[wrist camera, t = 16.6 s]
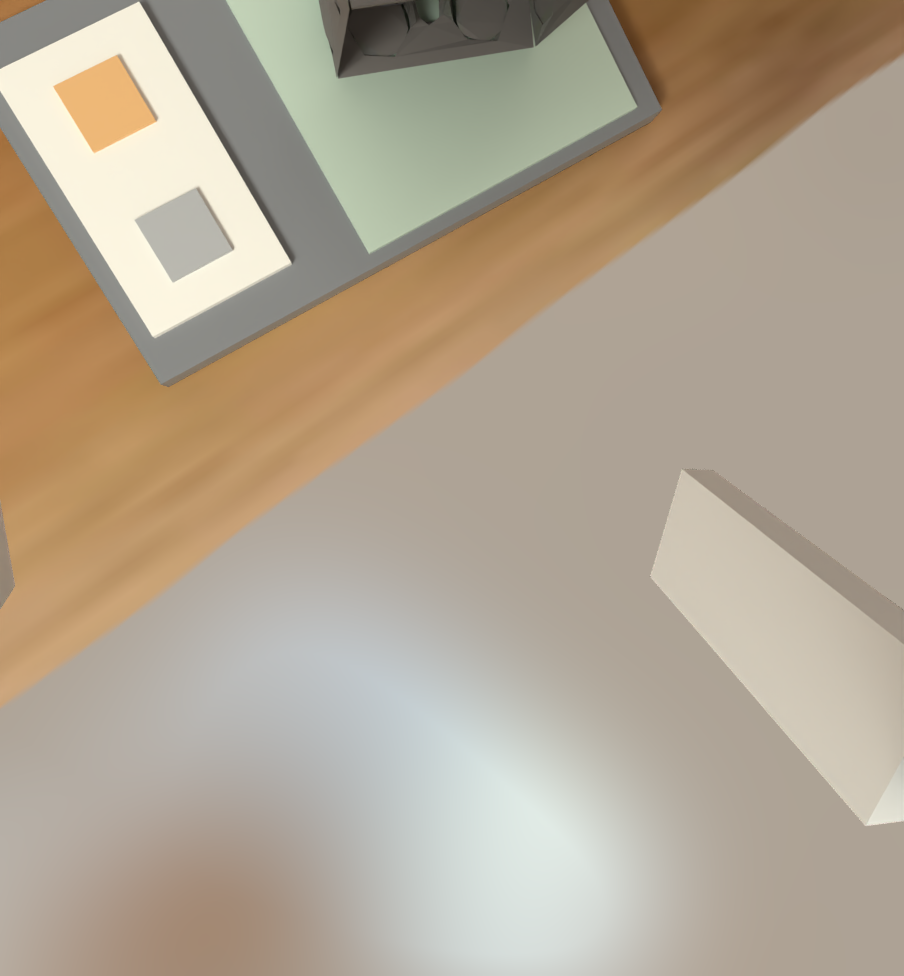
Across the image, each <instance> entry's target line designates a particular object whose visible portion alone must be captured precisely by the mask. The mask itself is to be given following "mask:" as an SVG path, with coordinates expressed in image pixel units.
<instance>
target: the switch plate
mask: <svg viewBox="0 0 904 976" xmlns="http://www.w3.org/2000/svg"><path fill="white" fill-rule="evenodd" d="M506 2H507V0H506ZM415 3H416V7H417V11H418V14H419V18H420V19H422V20H423V21H424V22H434V21H435V20H436V19H438V18H439V0H415ZM401 6H402V10H403V13H404V16H405V19H406V22H407V25H408V31H409V29H410V24H409V17H408V14H407V12H406V10H405V8H404V5H403V3H402V4H401ZM508 9H509V4H508V2H507V10H508ZM530 12H531V11H530ZM452 15H453V21H454V23H455V24H456V25H457V27H458V24H457V20H456V2H455V0H452ZM552 15H553V14H552ZM531 24H532V18H531ZM458 28H459V27H458ZM408 31H407V33H408ZM406 35H407V34H406ZM532 35H533V46H534V47H533V48H527V49H520V50H514V51H508V52H502V53H495V54H489V55H483V56H477V57H470V58H464V59H458V60H452V61H445V62H439V63H433V64H427V65H421V66H414V67H408V68H402V69H396V70H389V71H383V72H377V73H371V74H364V75H358V76H352V77H346V78H339V79H338V75H337V77H336V72H335V67H334V62H333V57H332V53H331V49H330V45H329V41H328V39H327V36H326V34H325V30H324V26H323V21H322V16H321V10H320V5H319V0H46V1H44V2H42V3H40V4H38V5H36V6H33V7H31V8H29V9H27V10H25V11H23V12H21V13H19V14H17V15H15V16H13V17H10V18H8V19H6V20H4V21H2V22H0V128H1V130H2V131H3V133H4V134H5V136H6V138H7V139H8V141H9V142H10V144H11V146H12V147H13V149H14V150H15V152H16V154H17V155H18V157H19V158H20V160H21V162H22V163H23V165H24V166H25V168H26V170H27V171H28V173H29V174H30V176H31V178H32V179H33V181H34V182H35V184H36V186H37V187H38V189H39V190H40V192H41V194H42V195H43V197H44V198H45V200H46V202H47V203H48V205H49V206H50V208H51V210H52V211H53V213H54V214H55V216H56V218H57V219H58V221H59V222H60V224H61V226H62V227H63V229H64V230H65V232H66V234H67V235H68V237H69V238H70V240H71V242H72V243H73V245H74V246H75V248H76V250H77V251H78V253H79V254H80V256H81V258H82V259H83V261H84V262H85V264H86V266H87V267H88V269H89V270H90V272H91V274H92V275H93V277H94V278H95V280H96V282H97V283H98V285H99V286H100V288H101V290H102V291H103V293H104V294H105V296H106V298H107V299H108V301H109V302H110V304H111V306H112V307H113V309H114V310H115V312H116V314H117V315H118V317H119V318H120V320H121V322H122V323H123V325H124V326H125V328H126V330H127V331H128V333H129V334H130V336H131V338H132V339H133V341H134V342H135V344H136V346H137V347H138V349H139V350H140V352H141V354H142V355H143V357H144V358H145V360H146V362H147V363H148V365H149V366H150V368H151V370H152V371H153V373H154V374H155V376H156V378H157V379H158V381H159V382H160V384H161V385H164V386H167V387H169V386H171V385H173V384H175V383H176V382H178V381H180V380H182V379H184V378H186V377H187V376H189V375H191V374H193V373H195V372H196V371H198V370H200V369H202V368H204V367H206V366H207V365H209V364H211V363H213V362H215V361H217V360H218V359H220V358H222V357H224V356H226V355H227V354H229V353H231V352H233V351H235V350H237V349H238V348H240V347H242V346H244V345H246V344H247V343H249V342H251V341H253V340H255V339H257V338H258V337H260V336H262V335H264V334H266V333H267V332H269V331H271V330H273V329H275V328H277V327H278V326H280V325H282V324H284V323H286V322H288V321H289V320H291V319H293V318H295V317H297V316H298V315H300V314H302V313H304V312H306V311H308V310H309V309H311V308H313V307H315V306H317V305H318V304H320V303H322V302H324V301H326V300H328V299H329V298H331V297H333V296H335V295H337V294H339V293H340V292H342V291H344V290H346V289H348V288H349V287H351V286H353V285H355V284H357V283H359V282H360V281H362V280H364V279H366V278H368V277H369V276H371V275H373V274H375V273H377V272H379V271H380V270H382V269H384V268H386V267H388V266H389V265H391V264H393V263H395V262H397V261H399V260H400V259H402V258H404V257H406V256H408V255H410V254H411V253H413V252H415V251H417V250H419V249H420V248H422V247H424V246H426V245H428V244H430V243H431V242H433V241H435V240H437V239H439V238H440V237H442V236H444V235H446V234H448V233H450V232H451V231H453V230H455V229H457V228H459V227H461V226H462V225H464V224H466V223H468V222H470V221H471V220H473V219H475V218H477V217H479V216H481V215H482V214H484V213H486V212H488V211H490V210H491V209H493V208H495V207H497V206H499V205H501V204H502V203H504V202H506V201H508V200H510V199H512V198H513V197H515V196H517V195H519V194H521V193H522V192H524V191H526V190H528V189H530V188H532V187H533V186H535V185H537V184H539V183H541V182H542V181H544V180H546V179H548V178H550V177H552V176H553V175H555V174H557V173H559V172H561V171H562V170H564V169H566V168H568V167H570V166H572V165H573V164H575V163H577V162H579V161H581V160H583V159H584V158H586V157H588V156H590V155H592V154H593V153H595V152H597V151H599V150H601V149H603V148H604V147H606V146H608V145H610V144H612V143H613V142H615V141H617V140H619V139H621V138H623V137H624V136H626V135H628V134H630V133H632V132H634V131H635V130H637V129H639V128H641V127H643V126H644V125H646V124H648V123H650V122H651V121H652V120H653V119H654V118H655V117H656V116H657V115H658V114H659V113H660V111H661V110H662V108H661V106H660V104H659V102H658V100H657V98H656V96H655V94H654V92H653V90H652V88H651V86H650V84H649V82H648V80H647V78H646V76H645V74H644V72H643V70H642V68H641V66H640V64H639V61H638V59H637V57H636V55H635V53H634V51H633V49H632V47H631V45H630V43H629V41H628V39H627V37H626V35H625V33H624V31H623V29H622V27H621V25H620V23H619V21H618V19H617V17H616V15H615V12H614V10H613V8H612V6H611V4H610V2H609V0H588V1H587V2H586V3H585V4H584V5H583V6H582V7H580V8H579V9H578V10H577V11H576V12H575V13H574V14H572V15H571V16H570V17H569V18H568V19H567V20H566V21H564V22H563V23H562V24H561V25H560V26H559V27H558V28H556V29H555V30H554V31H553V32H552V33H551V34H550V35H548V36H547V37H546V38H545V39H544V40H543V41H542V42H540V43H539V44H538V45H537V46H535V39H534V32H533V25H532ZM464 36H465V35H464ZM465 37H466V38H467V39H471V40H475V39H472V38H470V37H467V36H465ZM494 38H495V37H494ZM494 38H493V39H494ZM354 39H355V38H354ZM493 39H491V40H493ZM355 41H356V40H355ZM396 54H397V53H396ZM396 54H394V55H391V56H389V57H395V56H396Z"/></svg>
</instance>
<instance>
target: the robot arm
mask: <svg viewBox="0 0 904 976" xmlns="http://www.w3.org/2000/svg"><path fill="white" fill-rule="evenodd" d="M650 577H651V578H652V579H653V580H654V582H655V583H656V584H657V585H658V586H659V587H660V588H661V590H662V591H663V592H664V593H665V594H666V595H667V597H668V598H669V599H670V600H671V601H672V602H673V604H674V605H675V606H676V607H677V608H678V609H679V611H680V612H681V613H682V614H683V615H684V616H685V617H686V618H687V620H688V621H689V622H690V623H691V624H692V626H693V627H694V628H695V629H696V630H697V631H698V632H699V633H700V635H701V636H702V637H703V638H704V639H705V641H706V642H707V643H708V644H709V645H710V646H711V648H712V649H713V650H714V651H715V652H716V653H717V655H718V656H719V657H720V658H721V659H722V660H723V662H724V663H725V664H726V665H727V666H728V667H729V668H730V670H731V671H732V672H733V673H734V674H735V675H736V676H737V678H738V679H739V680H740V681H741V682H742V683H743V685H744V686H745V687H746V688H747V689H748V690H749V691H750V693H751V694H752V695H753V696H754V697H755V698H756V700H757V701H758V702H759V703H760V704H761V705H762V707H763V708H764V709H765V710H766V711H767V712H768V714H769V715H770V716H771V717H772V718H773V719H774V721H775V722H776V723H777V724H778V725H779V726H780V727H781V729H782V730H783V731H784V732H785V733H786V734H787V736H788V737H789V738H790V739H791V740H792V741H793V743H794V744H795V745H796V746H797V747H798V748H799V749H800V751H801V752H802V753H803V754H804V755H805V756H806V757H807V759H808V760H809V761H810V762H811V763H812V764H813V766H814V767H815V768H816V769H817V770H818V771H819V773H820V774H821V775H822V776H823V777H824V778H825V780H826V781H827V782H828V783H829V784H830V785H831V787H832V788H833V789H834V790H835V791H836V792H837V793H838V795H839V796H840V797H841V798H842V799H843V800H844V801H845V803H846V804H847V805H848V806H849V807H850V809H852V811H853V812H854V813H855V814H856V815H857V817H858V818H859V819H860V820H861V821H862V822H863V824H864V825H865V826H868V825H876V824H884V823H892V822H899V821H904V610H903V609H901V608H900V607H899V606H897V605H896V604H894V603H893V602H892V601H891V600H889V599H888V598H886V597H885V596H883V595H882V594H881V593H879V592H878V591H877V590H875V589H874V588H872V587H871V586H870V585H868V584H867V583H866V582H864V581H863V580H862V579H860V578H859V577H858V576H856V575H855V574H854V573H852V572H851V571H849V570H848V569H847V568H845V567H844V566H843V565H841V564H840V563H839V562H837V561H836V560H834V559H833V558H832V557H830V556H829V555H828V554H826V553H825V552H823V551H822V550H821V549H820V548H818V547H817V546H815V545H814V544H813V543H811V542H810V541H809V540H807V539H806V538H804V537H803V536H802V535H800V534H799V533H798V532H796V531H795V530H794V529H792V528H791V527H789V526H788V525H787V524H786V523H784V522H783V521H781V520H780V519H779V518H777V517H776V516H775V515H773V514H772V513H771V512H769V511H768V510H766V509H765V508H764V507H762V506H761V505H760V504H758V503H757V502H756V501H754V500H753V499H752V498H750V497H749V496H747V495H746V494H745V493H743V492H742V491H741V490H739V489H738V488H737V487H735V486H734V485H732V484H731V483H730V482H728V481H727V480H726V479H724V478H723V477H722V476H720V475H719V474H718V473H716V472H715V471H713V470H697V469H682V470H681V474H680V477H679V481H678V484H677V488H676V491H675V494H674V498H673V501H672V504H671V508H670V511H669V515H668V519H667V522H666V525H665V528H664V532H663V535H662V539H661V542H660V545H659V549H658V552H657V556H656V559H655V562H654V566H653V569H652V573H651V576H650ZM14 587H15V583H14V577H13V571H12V566H11V560H10V554H9V549H8V543H7V537H6V532H5V526H4V520H3V515H2V509H1V503H0V609H1V607H2V606H3V604H4V603H5V601H6V599H7V598H8V596H9V595H10V593H11V592H12V590H13V588H14Z"/></svg>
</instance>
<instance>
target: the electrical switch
mask: <svg viewBox="0 0 904 976" xmlns="http://www.w3.org/2000/svg"><path fill="white" fill-rule="evenodd" d="M587 1H588V0H507V2H508V4H509V9H508V10H507V2H506V0H455V2H456V20H457V24H458V27H459V28H458V27H457V25H456V24H455V23H454V21H453V15H452V0H439V18H438V19H436V20H435V21H434V22H424V21H423V20H422V19H420V18H419V14H418V11H417V7H416V3H415V0H319V5H320V10H321V16H322V21H323V26H324V30H325V34H326V36H327V39H328V41H329V45H330V49H331V53H332V57H333V62H334V67H335V72H336V77H337V75H338V79H339V78H346V77H352V76H358V75H364V74H371V73H377V72H383V71H389V70H396V69H402V68H408V67H414V66H421V65H427V64H433V63H439V62H445V61H452V60H458V59H464V58H470V57H477V56H483V55H489V54H495V53H502V52H508V51H514V50H520V49H527V48H533V47H534V46H533V35H532V25H533V32H534V39H535V46H537V45H538V44H539V43H540V42H542V41H543V40H544V39H545V38H546V37H547V36H548V35H550V34H551V33H552V32H553V31H554V30H555V29H556V28H558V27H559V26H560V25H561V24H562V23H563V22H564V21H566V20H567V19H568V18H569V17H570V16H571V15H572V14H574V13H575V12H576V11H577V10H578V9H579V8H580V7H582V6H583V5H584V4H585V3H586V2H587ZM402 3H403V5H404V8H405V10H406V12H407V14H408V17H409V24H410V29H409V31H408V25H407V22H406V19H405V16H404V13H403V10H402V6H401V4H402ZM530 11H531V12H530ZM552 14H553V15H552ZM531 18H532V24H531ZM407 31H408V33H407ZM406 34H407V35H406ZM464 35H465V36H467V37H470V38H472V39H475V40H471V39H467V38H466V37H465V36H464ZM494 37H495V38H494ZM354 38H355V39H354ZM493 38H494V39H493ZM491 39H493V40H491ZM355 40H356V41H355ZM396 53H397V54H396ZM394 54H396V56H395V57H389V56H391V55H394Z"/></svg>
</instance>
